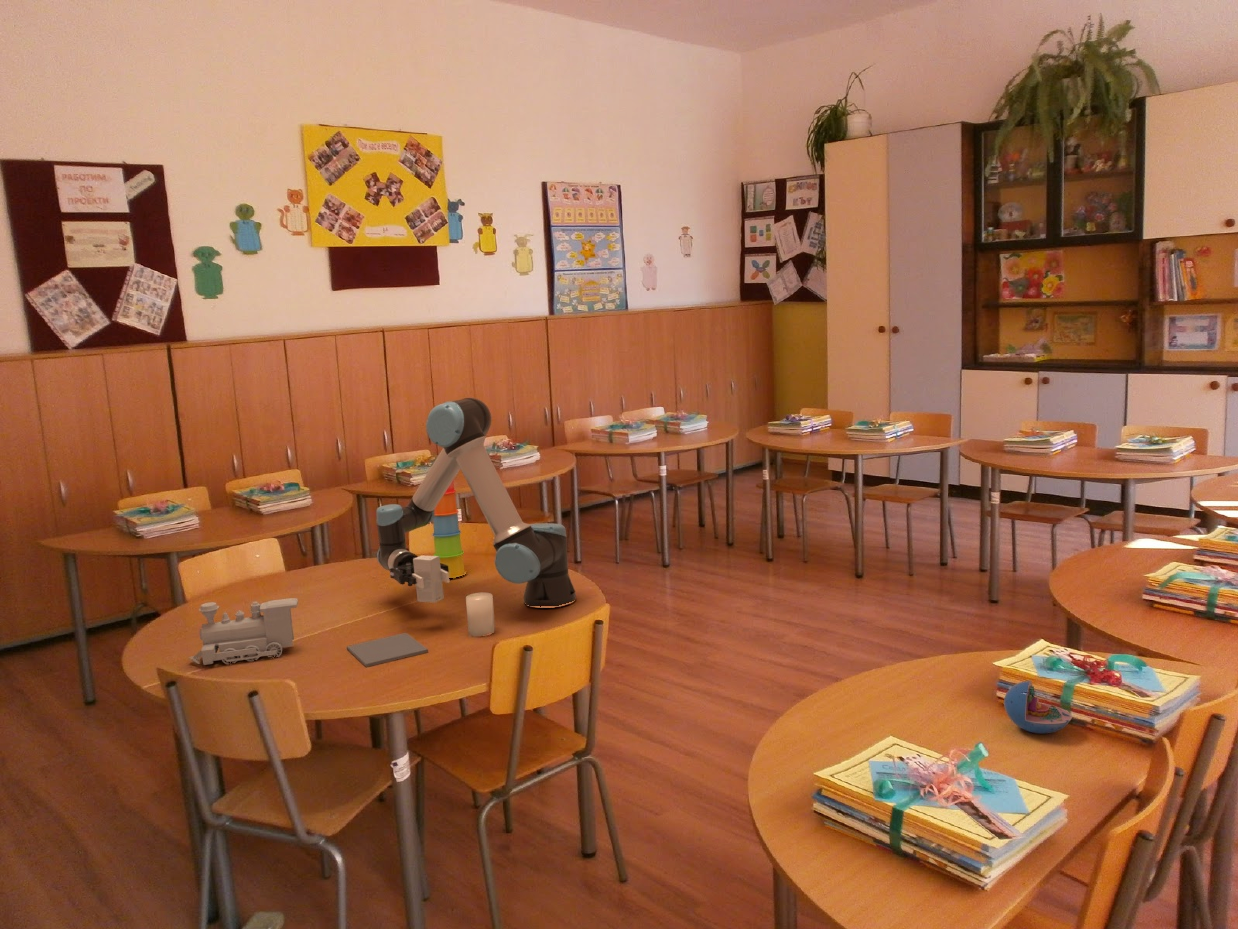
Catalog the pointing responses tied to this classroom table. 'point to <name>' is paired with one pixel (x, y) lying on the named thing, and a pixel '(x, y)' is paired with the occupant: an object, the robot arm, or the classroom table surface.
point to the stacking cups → (448, 534)
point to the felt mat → (386, 649)
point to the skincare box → (429, 578)
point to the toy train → (246, 632)
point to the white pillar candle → (480, 614)
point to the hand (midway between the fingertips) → (435, 580)
